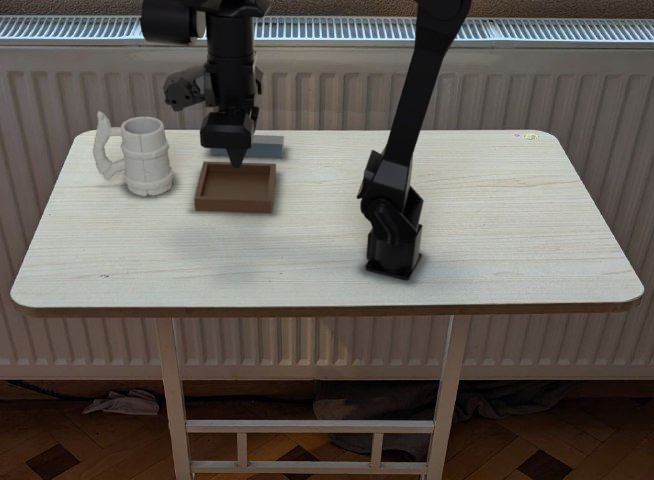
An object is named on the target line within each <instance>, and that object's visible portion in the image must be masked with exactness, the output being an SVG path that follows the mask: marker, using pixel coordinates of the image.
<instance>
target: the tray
mask: <svg viewBox="0 0 654 480" xmlns="http://www.w3.org/2000/svg"><path fill="white" fill-rule="evenodd" d="M276 180H277V163H269V162H268V163H264V162H263V163H262V162H242V165H241V167H240V168H233V167H232V165H231V162H230V161H206V160H204V161H202V166H201V170H200V175H199V178H198V182H197V186H196V191H195V195H194V199H193V200H194V210H195V212H218V213H219V212H223V213H224V212H225V213H252V214H254V213H255V214H272V213H273V207H274V206H273V205H274V198H275V190H276V189H275V188H276Z"/></svg>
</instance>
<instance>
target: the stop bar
mask: <svg viewBox="0 0 654 480" xmlns="http://www.w3.org/2000/svg"><path fill="white" fill-rule="evenodd" d="M284 139H285V136H284V135H267V134H266V135H265V134H254V138H253V143H252V148H249V149H247V152H246V154H245V157H247V158H271V159H272V158H273V159H276V158H277V159H283V158H284V150H285V143H284V142H285V141H284ZM209 149H210V156H225V157H228V154H227V151H226V149H218V148H209ZM245 157H244V158H245Z"/></svg>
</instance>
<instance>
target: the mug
mask: <svg viewBox="0 0 654 480" xmlns="http://www.w3.org/2000/svg"><path fill="white" fill-rule="evenodd" d="M96 117H97V126H96V131H95V132H96V133H95V136H94V142H93V148H92V155H93V158H94V161H95V166H96V169H97V171H98V172H99V174H101V175H102V177H103V178H104V180H106V181H110V180H111V179H112V178H113V176H114V175H116V174H117V173H120V172H123V180H124V182H125V184H126V187H127V190H128V191H129V192H130V193H133V194H134V195H138V196H140V197H141V196H142V197H147V196H157V195H161V194H165V193H166V192H167V191H169V190H171V189H172V186H173V180H174V176H175V173H174V170H173V168H172V166H171V165H170V158H169V149H170V144H169V141H168V139H167V137H166V132H165V125H164V123H163V122H162V120H161V119H158V118H156V117H153V116H136V117H132V118H129V119H126V120H125V121H123V122H122V123H121V126H112V124H111V122H110V120H109V118H108V117H107V115H105V113H104V112H102V111H100V110H98V111H97V115H96ZM110 137H121V143H120V149H121V152H122V154H123V158H121V159H118V160H115V161H112V160H111V159H110V158H109V157H107V154H106V148H105V146H106V144H107V143H108V140H109V139H110Z"/></svg>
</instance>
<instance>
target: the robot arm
mask: <svg viewBox="0 0 654 480" xmlns="http://www.w3.org/2000/svg"><path fill="white" fill-rule="evenodd" d="M413 1H414V3H416V4H417V10H416V18H415V29H414V30H415V31H414V33H415V34H414V46H413V52H412V55H411V59H410V63H409V66H408V69H407V73H406V76H405V79H404V83H403V85H402V86H403V87H402V89H401V93H400V97H399V100H398V104H397V107H396V111H395V114H394V117H393V120H392V123H391V127H390V131H389V135H388V137H387V141H386V144H385V146H384V148H383V149H382V151H381V152H378V151H376V150H374V149H371V151H370V153H369V155H368V156H369V157H368V160H367V162H366V165H365V168H364V170H363V176H362V177H363V178H362V180H361V183H360V186H359V189H358V192H357V195H356V199H357V200H360V203H359V204H360V205H359V209H360V213H361V214H362V215H363V216H364V218H365V219H366V220H367V221H369V223H370V226H371V229H370V230H369V232H368V234H367V241H366V253H365V254H366V255H365V258H366V259H367V260H368V261H367V263H366V264H365V266H364V269H365V271H368V272H372V273H376V274H380V275H383V276H387V277H391V278H395V279H399V280H403V281H410V279H411V278H412V276H413V274H414V272H415V270H416V269H417V267H418V266H419V264H420V262H421V260H422V257H423V254H421V253H420V251H421V250H420V249H421V242H422V241H421V240H422V233H423V224H421V223H420V220H421V215H422V210H423V207H424V203H425V201H424V199H423V197H422V196H420V194H419V193H418V192H417V191H416V190H415V189H414V187H413V186H412V185H411V181H412V172H413V163H414V153H415V149H416V146H417V144H418V143H417V142H418V140H419V137H420V134H421V130H422V127H423V124H424V121H425V118H426V115H427V111H428V109H429V105H430V103H431V99H432V96H433V93H434V90H435V86H436V84H437V80H438V77H439V74H440V71H441V68H442V64H443V61H444V59H445V57H446V56H447V53H448V51H449V50H450V48H451V47H452V45H453V43H454V41H456V40H455V39H456V38H457V36H458V34H459V33H460V30H461V29H462V27H463V25H464V23H465V21H466V19H467V17H468V15H469V13H470V11H471V7H472V4H473V0H413ZM271 6H272V5H271V2H269V1H268V0H142V5H141V16H140V18H139V24H140V30H141V31H140V32H141V34H142V37H143V38H144V40H145V41H146V42H148V43H156V44H164V45H174V46H183V47H194V46H195V45H196V43H197V40H198V39H203V37H204V36H205V33H206V47H207V48H206V49H207V50H206V51H207V55H206V61H205V62H204V63H201V64H196V65H193V66H189V67H186V68H184V69H180V70H177V71H174V72H173V73H170V74H169V75H168V76H167V77H166V78H165V81H164V83H163V86H162V89H163V94H164V104H166V105H167V106H170V107H171V108H172V111H173V112H176V113H177V112H181V111H183V110H184V109H185V108H188V107H191V106H194V105H197V104H200V103H203V102H204V105H205V106H204V107H205V108H212V111H210V112H208V113H207V115H205V117H204V118H202V122H201V125H200V128H199V139H200V140H199V143H200V146H201V147H202V148H204V149H210V148H218V149H226V151H227V154H228V156H227V157H228V158H229V162H231V165H232V167H233V168H240V167H241V165H242V163H244V160H245V154H246V152H247V149H249V148H252V143H253V138H254V135H255V133H256V129H257V124H258V118H259V114H260V107H259V106H258V105H255V104H256V100H257V95H258V96H260V95H261V96H262V95H263V93H264V87H265V81H264V80H265V79H264V72H263V71H262V70H261V69H260V68H258V66H256V65H257V60H258V59H257V55H258V53H257V50H256V49H255V23H254V22H255V19H254V18H257V19H263V18H264V17H265V16H266V14H267V13H268V12H269V10H270V9H271Z"/></svg>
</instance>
